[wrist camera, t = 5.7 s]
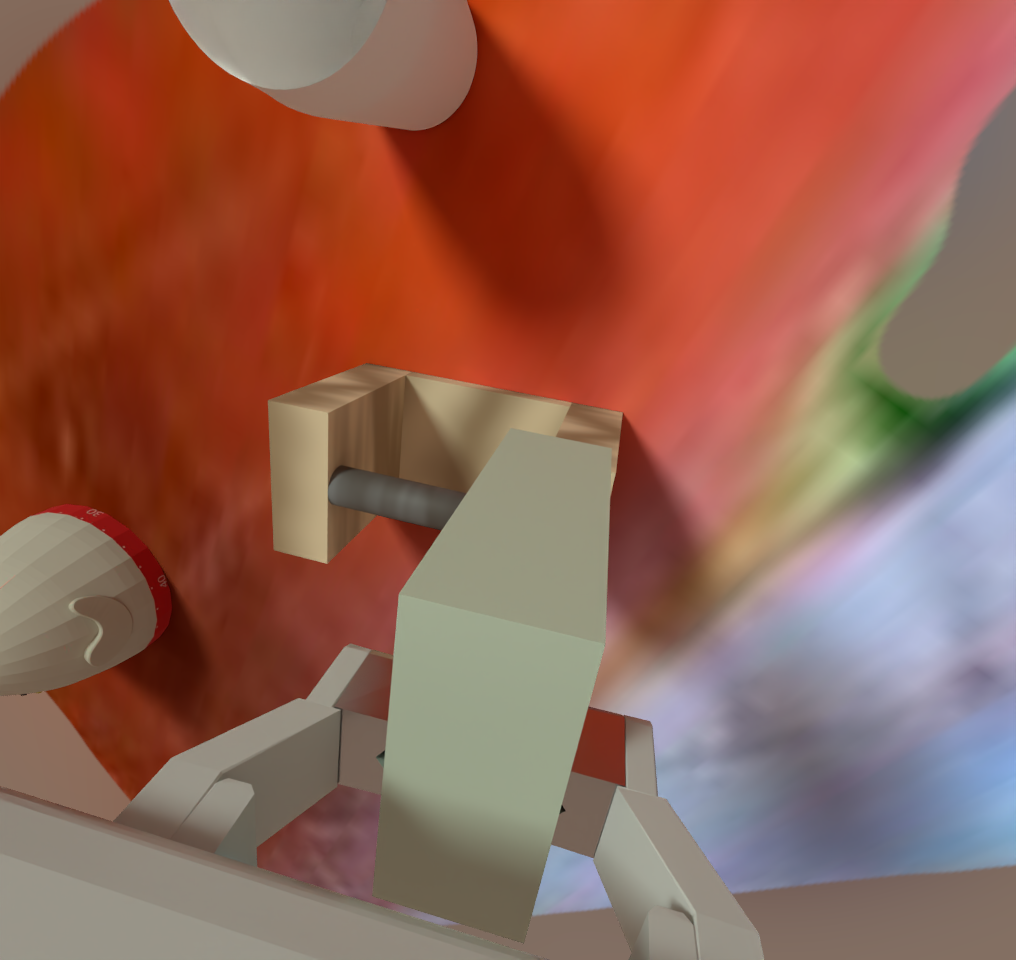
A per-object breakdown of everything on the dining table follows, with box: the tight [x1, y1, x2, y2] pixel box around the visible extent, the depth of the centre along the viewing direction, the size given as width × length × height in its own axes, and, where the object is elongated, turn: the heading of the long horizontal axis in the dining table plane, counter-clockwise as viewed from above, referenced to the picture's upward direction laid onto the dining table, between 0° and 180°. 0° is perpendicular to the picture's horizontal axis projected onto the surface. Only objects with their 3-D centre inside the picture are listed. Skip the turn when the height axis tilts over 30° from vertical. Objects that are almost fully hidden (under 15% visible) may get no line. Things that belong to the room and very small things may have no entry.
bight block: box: [372, 428, 612, 943], centre depth 13 cm, size 3×7×9 cm, turn 171°
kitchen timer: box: [0, 504, 172, 696], centre depth 40 cm, size 14×14×15 cm
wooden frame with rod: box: [268, 363, 623, 563], centre depth 30 cm, size 16×8×10 cm, turn 82°
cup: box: [169, 0, 477, 130], centre depth 22 cm, size 9×9×12 cm
